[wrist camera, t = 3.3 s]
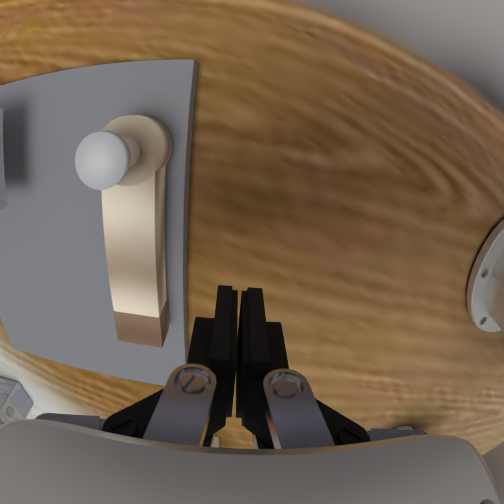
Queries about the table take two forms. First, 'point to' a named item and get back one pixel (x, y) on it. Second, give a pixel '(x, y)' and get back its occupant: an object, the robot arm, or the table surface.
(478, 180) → the table surface
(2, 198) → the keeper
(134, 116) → the link
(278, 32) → the table surface
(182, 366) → the robot arm
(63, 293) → the board
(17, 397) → the medicine box
